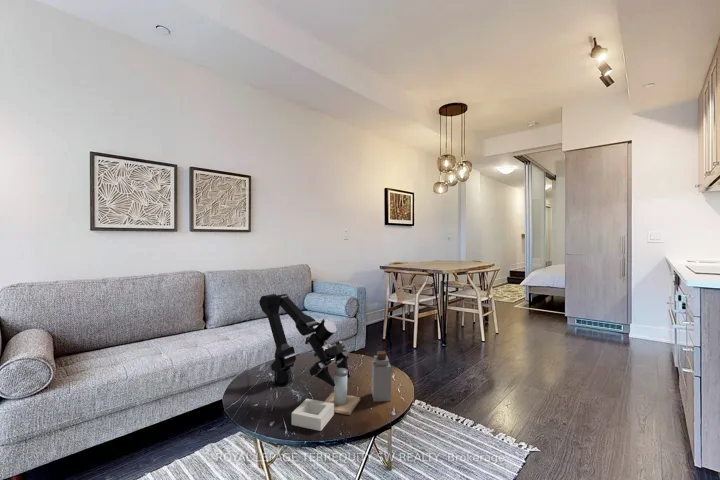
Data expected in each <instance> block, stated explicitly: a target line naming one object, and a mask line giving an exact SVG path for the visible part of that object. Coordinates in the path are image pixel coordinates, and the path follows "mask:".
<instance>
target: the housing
mask: <svg viewBox="0 0 720 480" xmlns="http://www.w3.org/2000/svg"><path fill="white" fill-rule="evenodd" d="M334 415H335V412H334V403H328V402H324V401H323V400H317V399H312V398H305V400H303V401H302V402H301V403H300V405H299V406H297V407H296V408H295V409H294V410H293V411H292V412H291V426H295V427H300V428H305V429H309V430H310V429H311V430H314V431H320V432H321V431H323V429H324V428H325V426H326V425H327V424H328V423H329V421H330V420H332V417H333V416H334Z"/></svg>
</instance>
